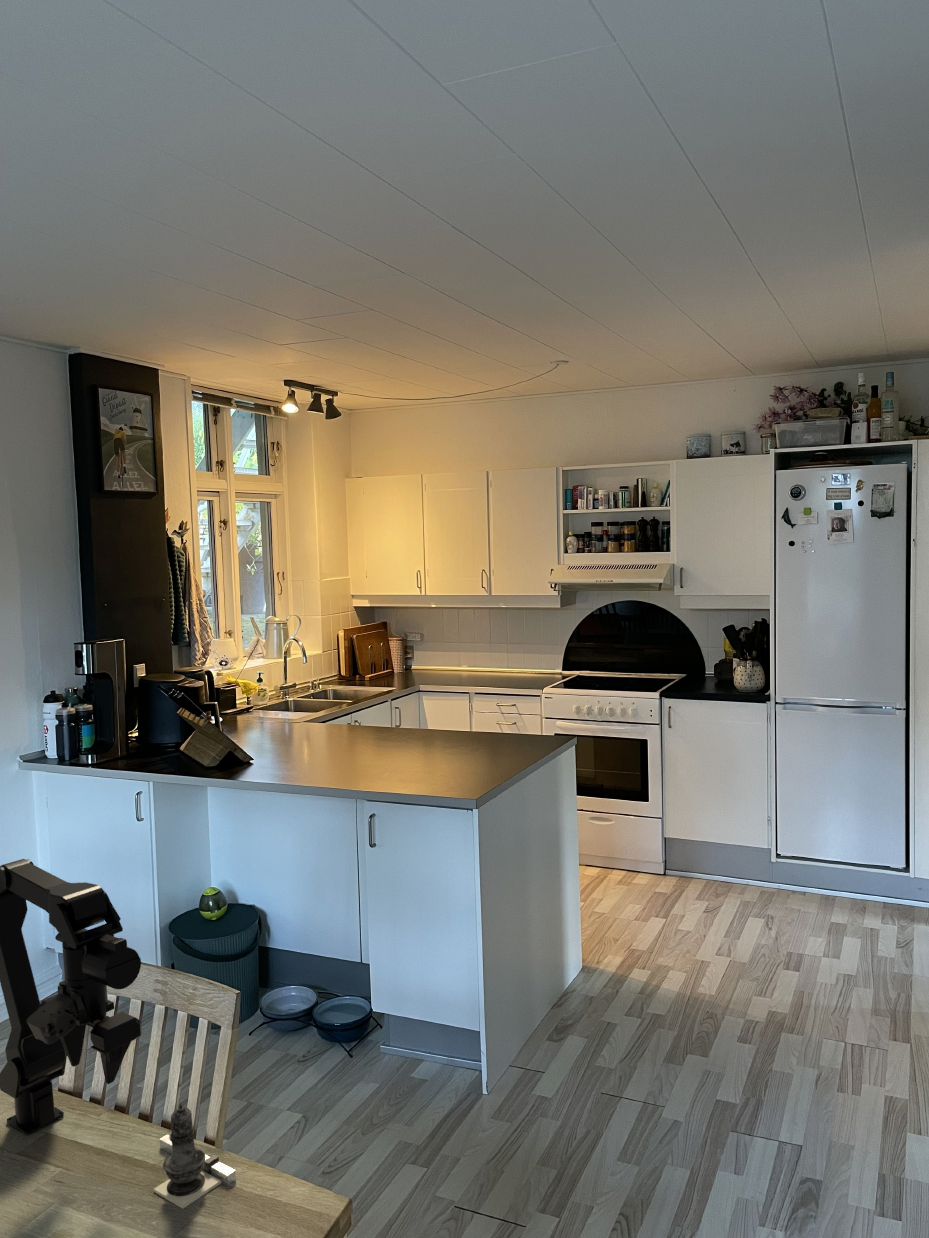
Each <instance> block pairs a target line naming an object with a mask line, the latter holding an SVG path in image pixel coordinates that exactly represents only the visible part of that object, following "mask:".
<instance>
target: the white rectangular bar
mask: <svg viewBox="0 0 929 1238" xmlns="http://www.w3.org/2000/svg"><path fill="white" fill-rule="evenodd" d="M169 1137H170V1135H169V1134H166V1135H164V1136H162V1137H161V1138H159V1148H160V1149H161V1150H163V1151H165V1152H167V1153H169V1155H170V1154H172V1141H171V1140H170V1139H169ZM205 1156H206V1158H205V1161H204V1164H203V1168H202V1170H203V1171H205V1172H206V1173H208V1174H210V1175H212V1176H214V1177H216V1178H217V1179H219V1180H221V1183H222V1182H223V1183H224V1184H225V1185H228V1186H229V1185H230V1184H232V1183H233V1182H235V1181H236V1180H237V1175H236V1169H233V1168H232V1167H230V1166H228V1165H226V1164H224V1163H222V1162H220V1159H219V1158H220V1157H219V1156H218V1155H216V1154H213V1155H211V1156H209V1155H207V1154H205Z"/></svg>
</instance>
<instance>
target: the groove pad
mask: <svg viewBox="0 0 929 1238" xmlns="http://www.w3.org/2000/svg"><path fill="white" fill-rule="evenodd" d="M201 1174H202V1175H203V1176H204V1177H205V1183H204V1185H203V1187H202V1188H201V1189H199V1190H198V1191H197V1192H195V1193H193V1194H190V1195H187V1196H173V1195H171V1194H169V1193H168V1192H167V1184H168V1183H169V1181H170V1179H169V1178H168V1179H167V1180H165V1181H164V1182H163V1183H161V1184H159V1185H158V1186H156V1187H154V1188H153V1192H154V1193H156V1194H157V1195H158V1196H160V1197H162V1198H164V1199H166V1200H167V1201H169V1202H171V1203H172V1204H174V1205H176V1206H177V1207H179V1208H181V1209H185V1208H186V1207H188V1206H189V1205H191V1204H192V1203H194V1202H195V1201H196V1200H198V1199H199V1198H201V1197H203V1196H204V1195H205V1194H207V1193H209V1192H210V1191H211V1190H213V1189H215V1188H216V1187H218V1186H219V1185H221V1184H222V1181H221V1180H219V1179H217V1178H216V1177H214V1176H212V1175H210V1174H208V1173H206V1172H205V1171H203V1170H202V1171H201Z"/></svg>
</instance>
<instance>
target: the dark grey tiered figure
mask: <svg viewBox="0 0 929 1238" xmlns="http://www.w3.org/2000/svg"><path fill="white" fill-rule="evenodd" d="M177 1107H178V1108H177V1109H175V1110H174V1111H173V1112H172V1113H171V1115H170V1126H171V1133H170V1135H169V1136H170V1137H169V1139H170V1140H171V1141H172V1154H170V1153H169V1154H168V1155H167V1156H166V1157H165V1159H164V1160H163V1163H162V1169H163V1170H164V1171H165V1174H166V1176H167V1178H168V1180H169V1179H170V1181H169V1183H168V1184H167V1192H168V1193H169V1194H171V1195H173V1196H187V1195H190V1194H193V1193H195V1192H197V1191H198V1190H199V1189H201V1188H202V1187H203V1185H204V1183H205V1177H204V1176H203V1175H202V1174H201V1171H202V1168H203V1164H204V1161H205V1158H206V1156H205V1155H206V1153H205V1151H204V1150H202V1149H200V1148H198V1147H195V1136H196V1129H195V1128H193V1118H192V1117H193V1116H192V1111H191V1109H190V1108H188V1107H185V1106H184V1105H183V1103H179V1104H178V1105H177Z"/></svg>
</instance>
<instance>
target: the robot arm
mask: <svg viewBox="0 0 929 1238" xmlns="http://www.w3.org/2000/svg"><path fill="white" fill-rule="evenodd" d="M27 901H28V902H29V903H31V904H33V905H35V906H36V907H38V908H40V909H42V910H43V911H45V912H46V913H48V923H49V924H50V925H51V926H52V927H54V929H56V931H57V934H56V935H55V940H56V941H57V942H60V943H62V944H61V946H62V959H63V971H64V973H63V975H64V980H63V981H60V982H58V986H57V994H55V995H52V996H50V997H47V998H45V999H43V1000H41V1001H40V997H39V993H38V989H37V986H36V982H35V981H36V980H35V978H34V973H33V969H32V966H31V961H30V957H29V953H28V949H27V946H26V942H25V938H24V934H23V929H22V928H23V926H24V922H25V920H26V916H27V913H28V903H27ZM103 922H105V923H103ZM100 923H103V924H101V925H99V924H100ZM95 925H98V926H96V927H93V928H90V929H88V928H89V927H92V926H95ZM123 929H124V928H123V926H122V924H121V917H120V915H119V913H118V912H117V910H116V908H115V907H114V904H113V903H112V901H111V900H110V898H109V895H108V893H107V892H106V891H105V890H104V889H103V887H101V886H100V885H98V884H95V883H90V882H85V881H84V882H67V881H66V880H63V879H61V878H60V877H58V876H56V875H54V874H52V873H50V872H48V871H47V870H44V869H42V868H40V867H38V866H37V865H35V864H34V862H33V861H32V860H31V859H29V858H27V859H26V858H22V859H18V860H15V861H11V862H8V863H7V862H6V863H4V864H1V865H0V987H1V991H2V994H3V995H2V996H3V999H4V1002H5V1003H4V1004H5V1007H6V1011H7V1015H8V1018H9V1023H10V1028H11V1030H10V1033H9V1036H8V1040H7V1042H6V1044H5V1045H6V1046H5V1056H6V1057H5V1058H6V1064H5V1065H4V1066H3V1068H2V1069H1V1071H0V1092H3V1093H4V1094H6V1095H8V1096H10V1097H11V1098H12V1099H13V1100H14V1101H13V1102H14V1111H15V1113H14V1115H12V1116H10V1117H8V1118H7V1119H6V1124H8V1125H10V1126H11V1127H13V1128H15V1129H16V1130H17V1131H19V1132H21V1133H23V1134H25V1135H29V1134H32V1133H33V1132H35V1131H37V1130H39V1129H41V1128H43V1127H45V1126H47V1125H49V1124H51V1123H53V1122H54V1121H57V1120H58V1119H61V1118H62V1117H64V1115H65V1114H64V1113H65V1112H64V1111H63V1110H61V1109H59V1108H58V1107H56V1106H55V1100H54V1087H53V1080H55V1079H57V1078H59V1077H62V1076H65V1072H66V1064H67V1059H68V1060H69V1063H70V1066H71V1067H76V1066H79V1064H80V1063H81V1058H82V1055H83V1054H82V1053H83V1047H84V1041H85V1034H86V1029H87V1026H88V1027H90V1028H91V1030H90V1032H89V1033H90V1036H89V1037H90V1042H91V1043H92V1045H91V1046H90V1048H91V1049H92V1050H94V1051H96V1052H97V1053H99V1055H100V1060H101V1066H102V1071H103V1076H104V1079H105V1083H106V1084H107V1085H110V1084H111V1083H114V1082H115V1080H116V1077H117V1075H118V1072H119V1070H120V1068H121V1065H122V1064H123V1063H122V1062H123V1060H124V1058H125V1056H126V1054H127V1051H128V1049H129V1047H130V1045H131V1044H132V1042H133V1041H135V1040H136V1039H137V1038H139V1037H141V1036H142V1034H143V1030H142V1029H143V1028H142V1026H143V1025H142V1020H140V1019H139V1018H138V1017H136V1016H133V1015H130V1014H128V1013H125V1012H123V1011H121V1012H118V1013H116V1014H114V1015H111V1016H109V1015H107V1013H108V1012H110V1011H112V1010H115V1002H114V1001H111V1000H109V999H108V987H109V988H111V989H113V990H124V989H126V988H128V987H129V986H131V985H132V984H133V983H135V980H136V979H137V978H138V976H139V974H140V971H141V967H142V959H141V957H140V956H139V952H137V951H136V950H135V949H133V948H132V947H130V946H129V947H128V941H127V939H126V938H123V937H116V936H115V935H116V934H119V933H122V932H123Z"/></svg>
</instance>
